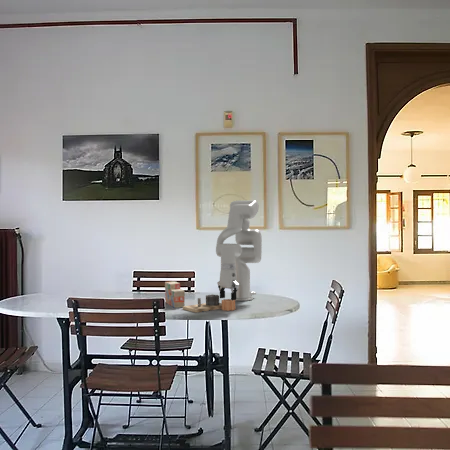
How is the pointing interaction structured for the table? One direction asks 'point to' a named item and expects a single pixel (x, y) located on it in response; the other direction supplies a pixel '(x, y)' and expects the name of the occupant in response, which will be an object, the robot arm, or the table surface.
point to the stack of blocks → (174, 294)
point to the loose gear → (228, 304)
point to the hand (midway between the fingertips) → (228, 298)
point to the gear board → (205, 304)
